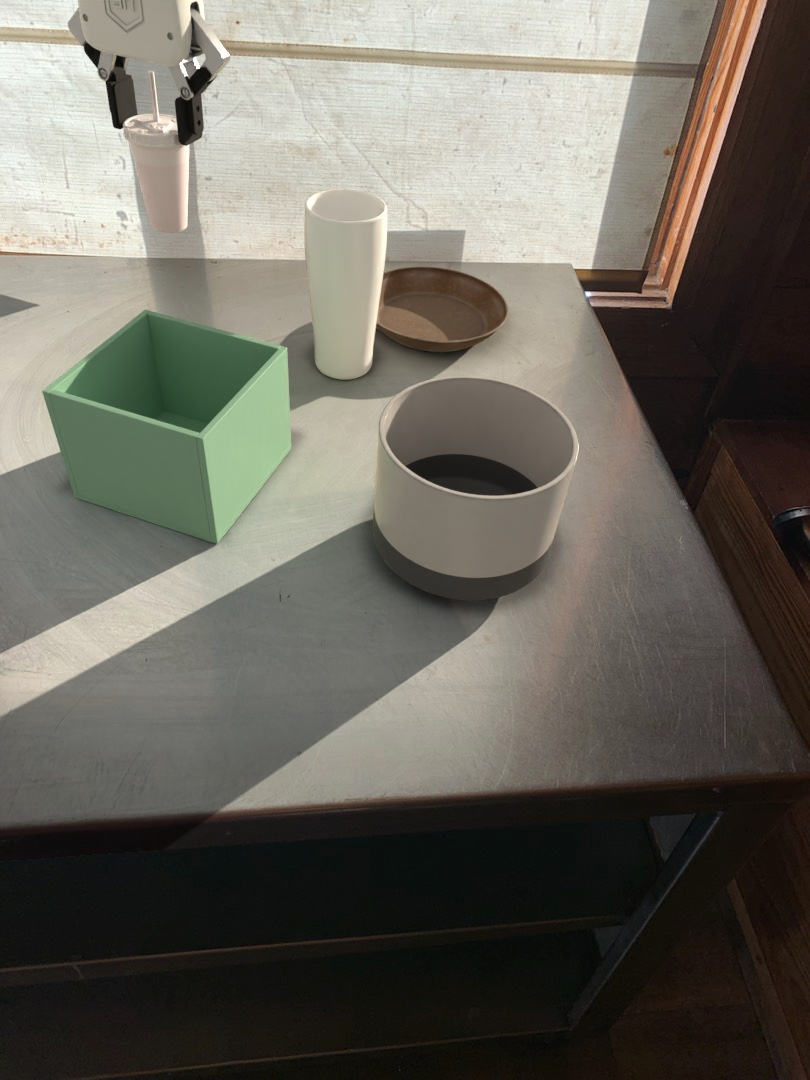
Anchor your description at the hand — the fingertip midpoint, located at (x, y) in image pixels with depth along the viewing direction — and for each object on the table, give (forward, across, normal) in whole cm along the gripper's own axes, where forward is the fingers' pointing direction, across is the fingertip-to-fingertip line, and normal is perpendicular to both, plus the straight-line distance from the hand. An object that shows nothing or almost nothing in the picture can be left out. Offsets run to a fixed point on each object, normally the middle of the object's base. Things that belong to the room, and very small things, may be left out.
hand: (158, 131), depth 75 cm
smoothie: (+9, 0, 0) cm, 9 cm away
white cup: (+13, +24, -10) cm, 29 cm away
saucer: (+13, +29, +1) cm, 32 cm away
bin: (+14, +19, -29) cm, 37 cm away
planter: (+13, +41, -28) cm, 51 cm away
